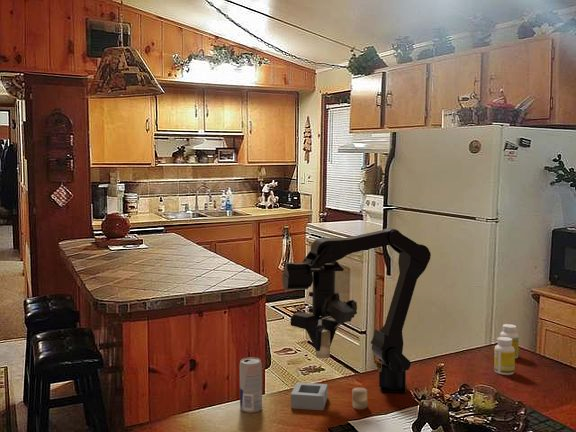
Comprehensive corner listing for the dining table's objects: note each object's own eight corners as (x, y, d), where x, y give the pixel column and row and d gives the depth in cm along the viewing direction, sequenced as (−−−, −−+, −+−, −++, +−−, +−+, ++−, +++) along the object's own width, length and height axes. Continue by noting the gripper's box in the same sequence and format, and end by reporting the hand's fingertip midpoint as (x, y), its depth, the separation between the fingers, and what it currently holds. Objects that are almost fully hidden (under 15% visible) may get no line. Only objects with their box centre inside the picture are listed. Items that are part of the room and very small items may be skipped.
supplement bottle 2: (518, 372, 161) (519, 339, 161) (506, 376, 158) (507, 342, 158) (501, 367, 166) (502, 334, 165) (490, 371, 163) (490, 338, 162)
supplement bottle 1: (516, 360, 172) (516, 328, 172) (497, 357, 175) (498, 326, 174) (519, 355, 177) (520, 324, 176) (501, 352, 180) (502, 322, 179)
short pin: (368, 403, 140) (367, 388, 140) (366, 409, 137) (366, 393, 137) (353, 402, 141) (353, 387, 141) (351, 408, 138) (351, 392, 138)
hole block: (327, 397, 145) (327, 384, 144) (323, 410, 137) (323, 396, 137) (296, 395, 146) (296, 382, 146) (290, 408, 138) (290, 394, 138)
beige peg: (322, 353, 147) (322, 328, 147) (332, 356, 144) (333, 331, 144) (312, 356, 144) (313, 331, 144) (323, 359, 142) (323, 333, 141)
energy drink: (250, 402, 142) (250, 355, 141) (266, 408, 139) (266, 360, 138) (235, 409, 138) (234, 361, 137) (251, 415, 134) (251, 365, 134)
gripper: (323, 299, 131) (322, 365, 132) (371, 288, 144) (370, 348, 145) (289, 291, 139) (288, 354, 140) (337, 282, 152) (336, 339, 153)
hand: (322, 349), depth 144 cm, fingers closed on beige peg, 4 cm apart
